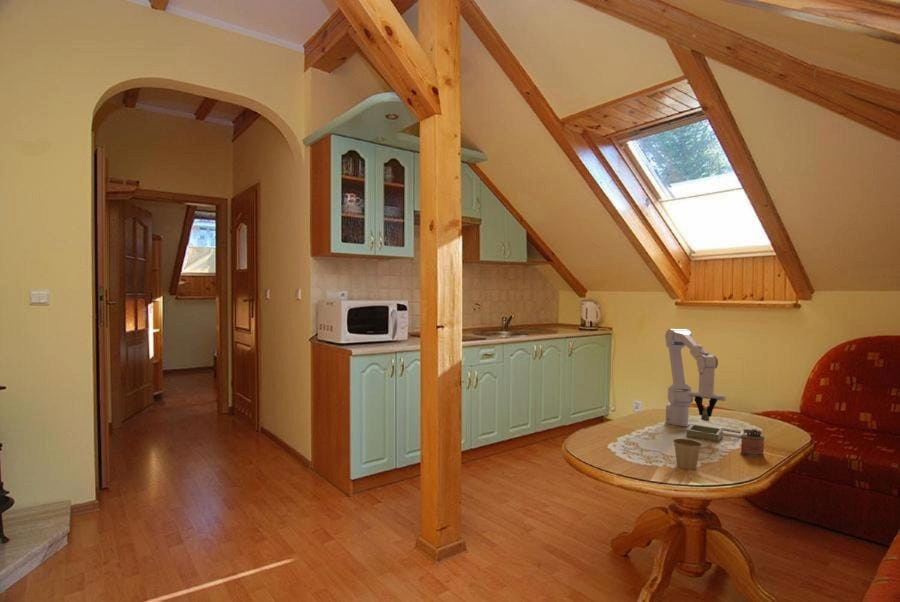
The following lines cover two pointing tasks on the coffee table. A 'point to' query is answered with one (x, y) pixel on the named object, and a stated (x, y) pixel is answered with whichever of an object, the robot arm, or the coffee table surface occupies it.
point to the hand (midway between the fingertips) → (705, 415)
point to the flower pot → (687, 453)
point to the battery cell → (705, 413)
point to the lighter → (752, 443)
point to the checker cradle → (732, 433)
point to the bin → (704, 432)
